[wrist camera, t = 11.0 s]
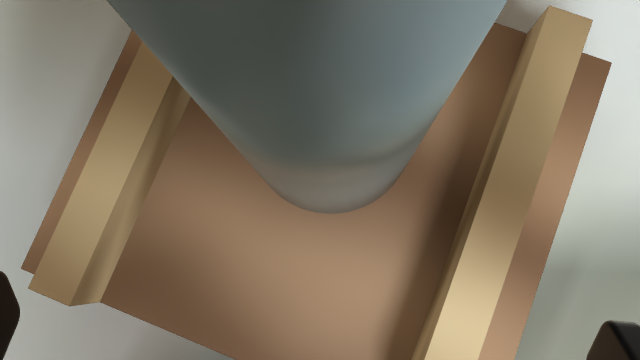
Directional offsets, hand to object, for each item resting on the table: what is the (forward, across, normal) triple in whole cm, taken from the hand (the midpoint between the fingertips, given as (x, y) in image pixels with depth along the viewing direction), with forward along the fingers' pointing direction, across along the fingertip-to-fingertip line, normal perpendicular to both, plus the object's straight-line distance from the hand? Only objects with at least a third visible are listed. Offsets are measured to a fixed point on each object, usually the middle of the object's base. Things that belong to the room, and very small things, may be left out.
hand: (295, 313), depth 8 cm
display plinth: (+9, 0, +4) cm, 10 cm away
